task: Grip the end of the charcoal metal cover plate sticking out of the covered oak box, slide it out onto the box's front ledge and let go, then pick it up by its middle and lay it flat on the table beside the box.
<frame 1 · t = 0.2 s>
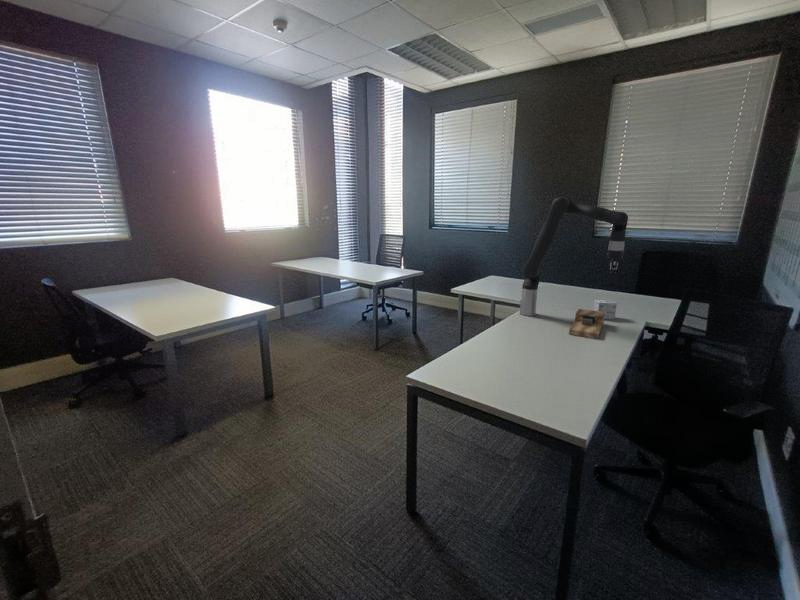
hand: (611, 277, 205), 28 cm above the table, tool pointing down, fingers open, 8 cm apart
wooden box: (588, 325, 212), on the table
light bulb box: (603, 318, 227), on the table
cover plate: (588, 322, 210), point 3 cm above the table, touching wooden box
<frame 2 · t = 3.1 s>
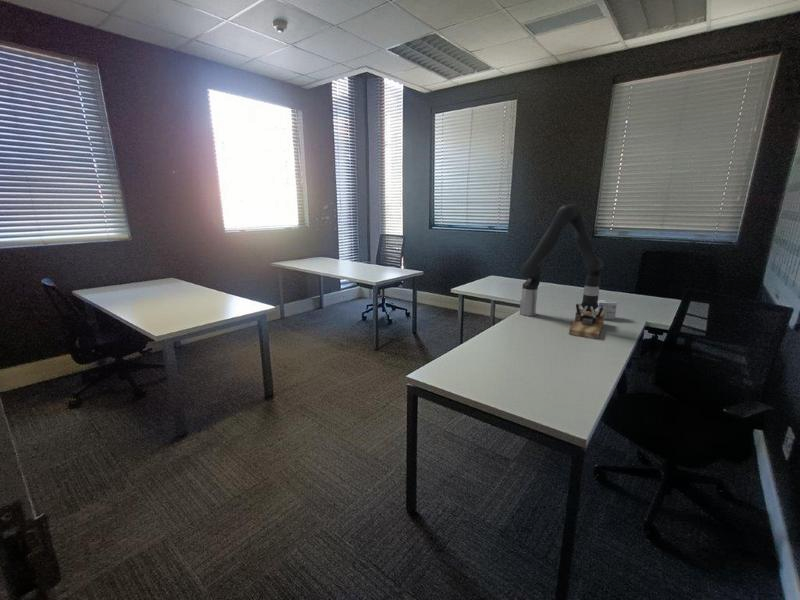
hand: (587, 322, 206), 4 cm above the table, tool pointing down, fingers closed on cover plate, 5 cm apart
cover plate: (588, 322, 210), point 3 cm above the table, touching gripper, wooden box
everything else where it was.
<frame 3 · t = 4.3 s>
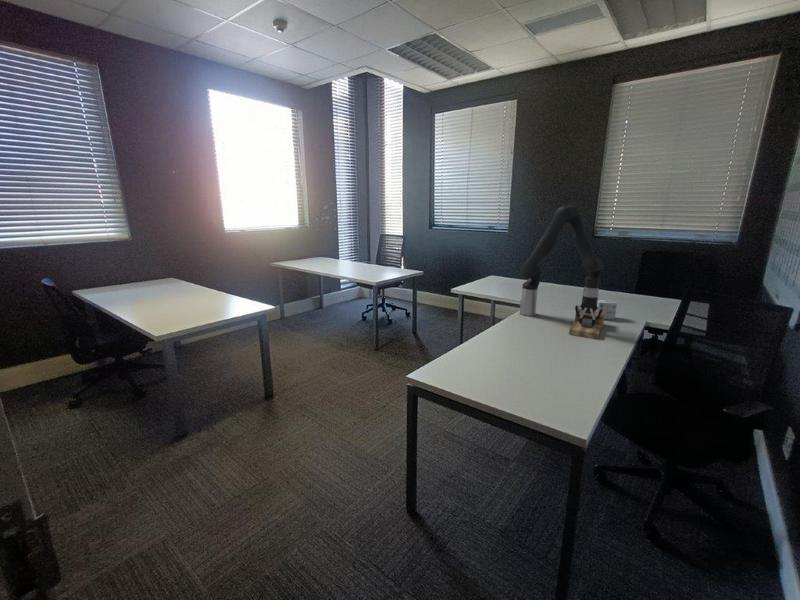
hand: (586, 324, 202), 4 cm above the table, tool pointing down, fingers closed on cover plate, 5 cm apart
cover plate: (587, 323, 207), point 3 cm above the table, touching gripper
everything else where it was.
when the fingers open (4 cm above the table, at t = 5.7 s): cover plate stays where it is, resting on wooden box.
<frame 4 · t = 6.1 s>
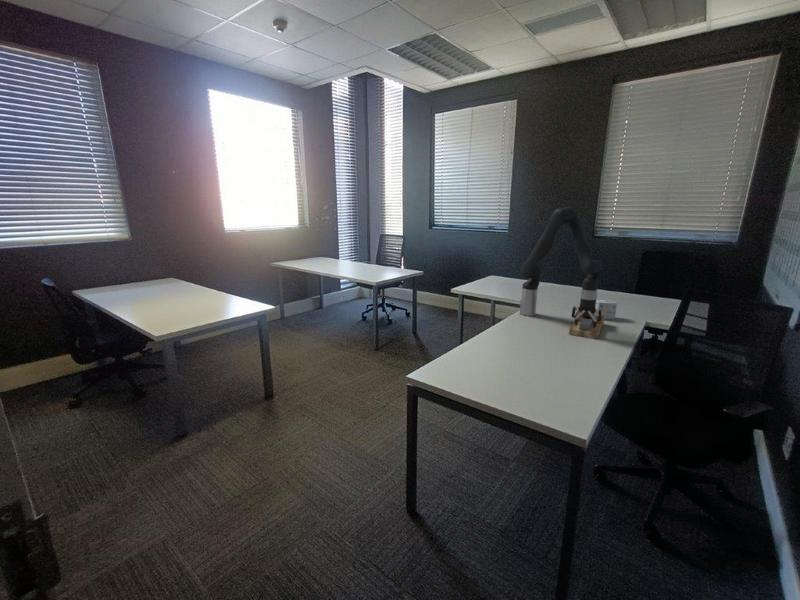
hand: (585, 326, 198), 5 cm above the table, tool pointing down, fingers open, 8 cm apart
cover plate: (586, 326, 202), point 3 cm above the table, touching wooden box
everything else where it was.
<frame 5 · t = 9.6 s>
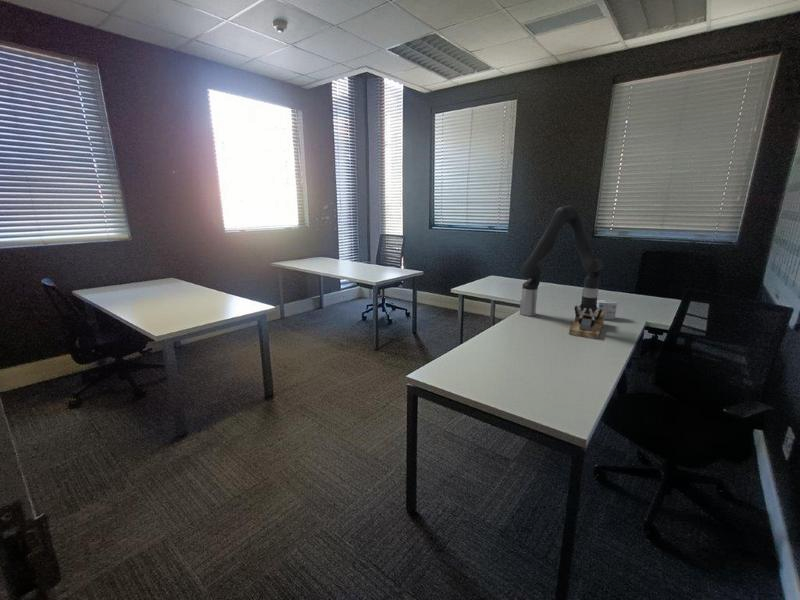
hand: (586, 325, 202), 4 cm above the table, tool pointing down, fingers closed on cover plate, 5 cm apart
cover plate: (586, 326, 202), point 3 cm above the table, touching gripper, wooden box
everything else where it was.
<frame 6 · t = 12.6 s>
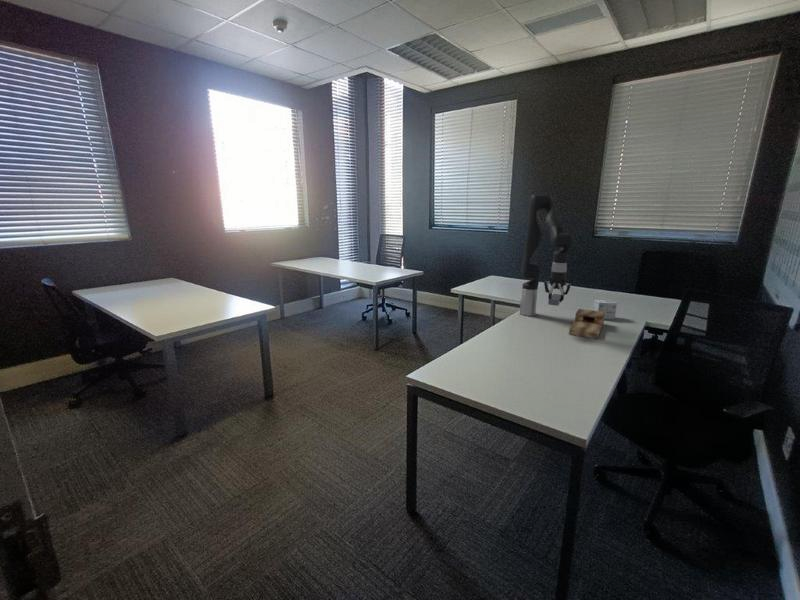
hand: (555, 300, 202), 17 cm above the table, tool pointing down, fingers closed on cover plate, 5 cm apart
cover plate: (555, 302, 203), point 16 cm above the table, touching gripper
everything else where it was.
when the fingers open (2 cm above the table, at t = 15.9 s): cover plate drops 2 cm, on the table.
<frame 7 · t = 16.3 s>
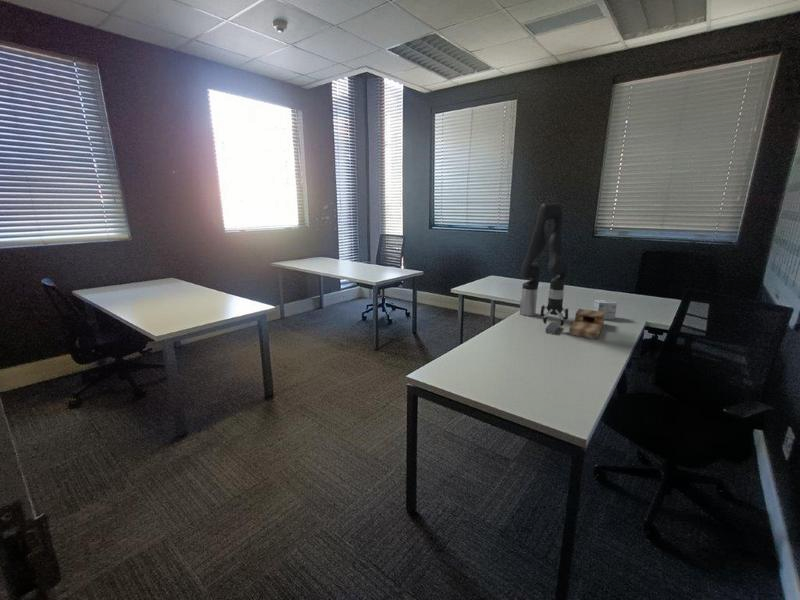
hand: (553, 324, 206), 3 cm above the table, tool pointing down, fingers open, 8 cm apart
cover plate: (552, 330, 207), on the table
everything else where it was.
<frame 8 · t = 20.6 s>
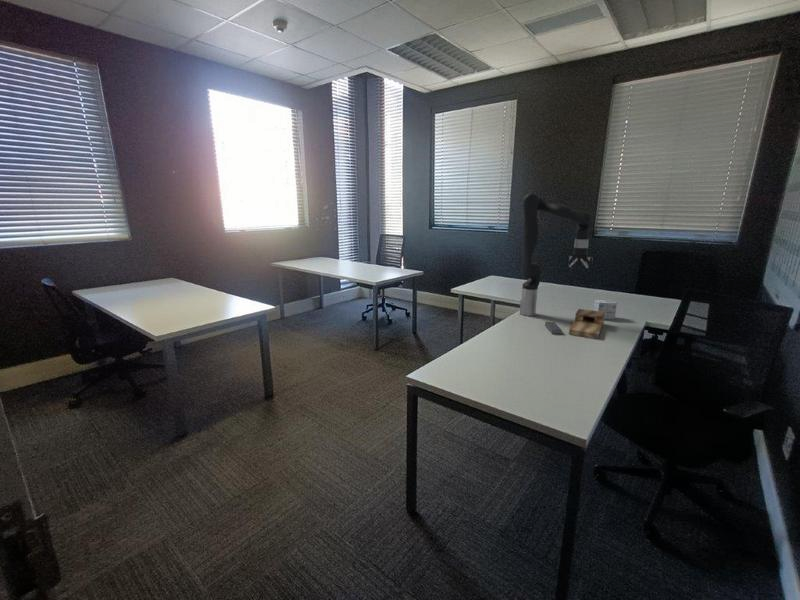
hand: (578, 273, 220), 28 cm above the table, tool pointing down, fingers open, 8 cm apart
at the end: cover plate inside the target area (0.2 cm from its centre), on the table; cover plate tilted 0°; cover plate touching table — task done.
